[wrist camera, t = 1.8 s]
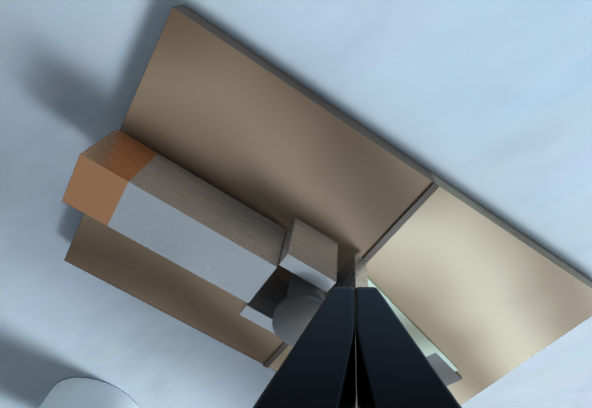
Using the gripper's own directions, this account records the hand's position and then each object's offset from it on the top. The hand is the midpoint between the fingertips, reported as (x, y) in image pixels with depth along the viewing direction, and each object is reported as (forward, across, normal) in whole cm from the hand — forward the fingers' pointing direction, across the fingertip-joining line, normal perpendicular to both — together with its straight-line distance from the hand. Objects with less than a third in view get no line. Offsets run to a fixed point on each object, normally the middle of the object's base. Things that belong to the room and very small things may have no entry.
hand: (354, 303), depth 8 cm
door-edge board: (+12, +1, +9) cm, 15 cm away
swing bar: (+10, +6, +4) cm, 13 cm away
